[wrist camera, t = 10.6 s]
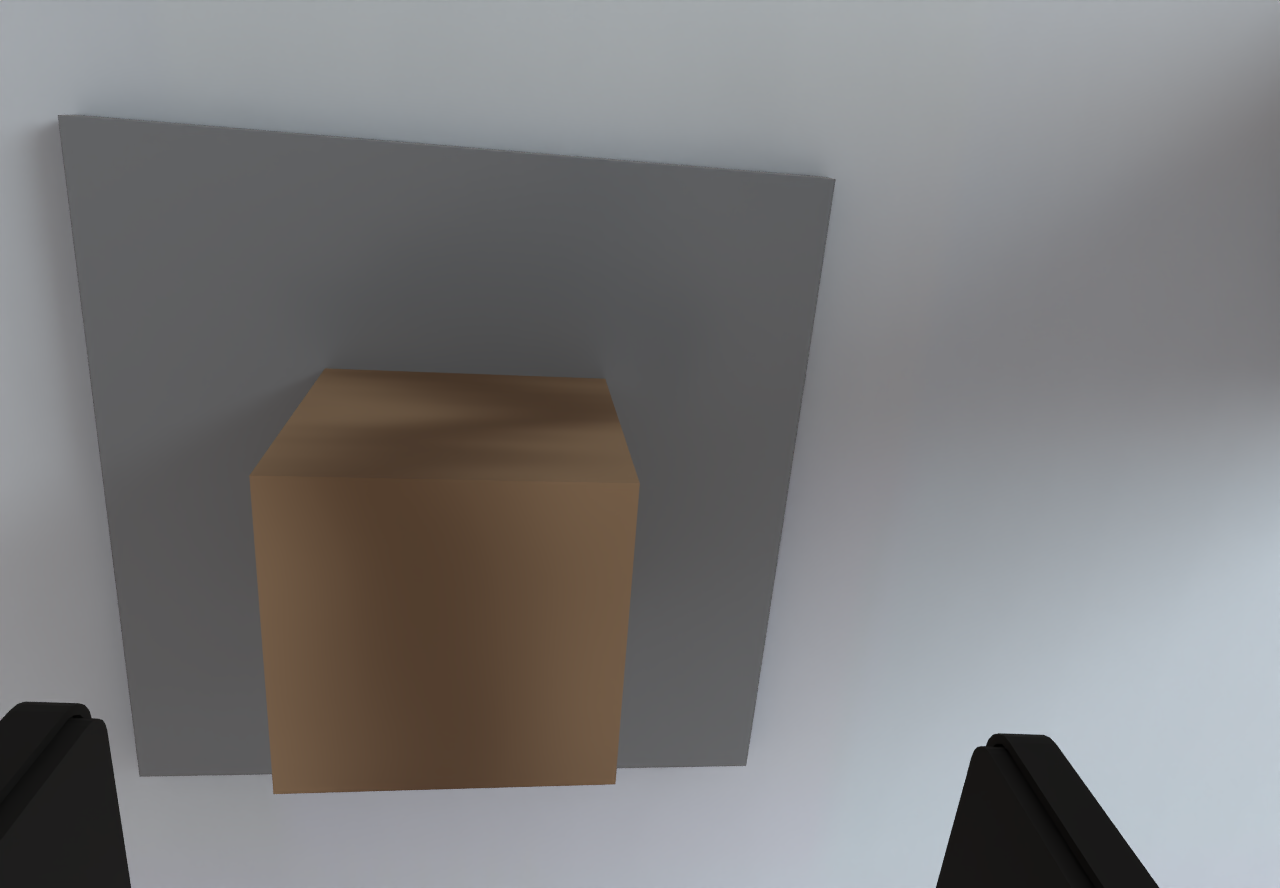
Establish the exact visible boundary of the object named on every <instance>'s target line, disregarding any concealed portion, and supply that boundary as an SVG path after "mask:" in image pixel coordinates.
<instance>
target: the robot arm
mask: <svg viewBox="0 0 1280 888" xmlns="http://www.w3.org/2000/svg"><path fill="white" fill-rule="evenodd" d="M0 888H131V884H130V877H129V871H128V864H127V858H126V851H125V844H124V838H123V831H122V825H121V818H120V812H119V805H118V798H117V792H116V785H115V779H114V772H113V765H112V759H111V752H110V746H109V739H108V733H107V728H106V725H105V723H104V722H103V720H101V719H93V718H91V715H90V711H89V710H88V708H87V707H86V706H85V705H83V704H79V703H50V702H22V703H19V704H17V705H16V706H15V707H13V708H12V709H11V710H10V711H9V712H8V713H7V714H6V715H5V716H4V717H3V718H2V720H1V721H0ZM936 888H1159V887H1158V885H1157V884H1156V883H1155V881H1154V880H1153V878H1152V877H1151V876H1150V874H1149V873H1148V871H1147V870H1146V869H1145V867H1144V866H1143V864H1142V863H1141V862H1140V860H1139V859H1138V857H1137V856H1136V855H1135V853H1134V852H1133V850H1132V849H1131V848H1130V846H1129V845H1128V844H1127V842H1126V841H1125V839H1124V838H1123V837H1122V835H1121V834H1120V832H1119V831H1118V830H1117V828H1116V827H1115V825H1114V824H1113V823H1112V821H1111V820H1110V818H1109V817H1108V816H1107V814H1106V813H1105V811H1104V810H1103V809H1102V807H1101V806H1100V805H1099V803H1098V802H1097V800H1096V799H1095V798H1094V796H1093V795H1092V793H1091V792H1090V791H1089V789H1088V788H1087V786H1086V785H1085V784H1084V782H1083V781H1082V779H1081V778H1080V777H1079V775H1078V774H1077V772H1076V771H1075V770H1074V768H1073V767H1072V765H1071V764H1070V763H1069V761H1068V760H1067V759H1066V757H1065V756H1064V754H1063V753H1062V752H1061V750H1060V749H1059V747H1058V746H1057V745H1056V743H1055V742H1054V741H1053V740H1052V739H1051V738H1050V737H1047V736H1045V735H1031V734H1000V733H998V734H994V735H992V736H991V738H990V739H989V740H988V742H987V745H986V746H980V747H977V748H976V749H975V750H974V752H973V755H972V757H971V761H970V765H969V768H968V772H967V776H966V779H965V783H964V787H963V790H962V794H961V798H960V801H959V805H958V809H957V812H956V816H955V820H954V823H953V827H952V831H951V834H950V838H949V842H948V845H947V849H946V853H945V856H944V860H943V864H942V867H941V871H940V875H939V878H938V882H937V886H936Z"/></svg>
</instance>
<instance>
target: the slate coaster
mask: <svg viewBox="0 0 1280 888" xmlns="http://www.w3.org/2000/svg"><path fill="white" fill-rule="evenodd" d="M58 120H59V128H60V136H61V144H62V152H63V160H64V168H65V176H66V184H67V193H68V201H69V209H70V217H71V225H72V233H73V241H74V249H75V257H76V265H77V273H78V282H79V290H80V298H81V306H82V314H83V322H84V330H85V338H86V346H87V354H88V362H89V371H90V379H91V387H92V395H93V403H94V411H95V419H96V427H97V435H98V443H99V451H100V459H101V468H102V476H103V484H104V492H105V500H106V508H107V516H108V524H109V532H110V540H111V548H112V557H113V565H114V573H115V581H116V589H117V597H118V605H119V613H120V621H121V629H122V637H123V646H124V654H125V662H126V670H127V678H128V686H129V694H130V702H131V710H132V718H133V726H134V734H135V743H136V751H137V759H138V767H139V775H140V777H141V776H197V775H253V774H272V767H271V754H270V740H269V727H268V714H267V701H266V688H265V675H264V662H263V648H262V635H261V622H260V609H259V596H258V583H257V570H256V556H255V543H254V530H253V517H252V504H251V491H250V478H249V475H250V474H251V472H252V471H253V470H254V468H255V467H256V465H257V464H258V463H259V461H260V460H261V458H262V457H263V455H264V454H265V453H266V451H267V450H268V448H269V447H270V446H271V444H272V443H273V441H274V440H275V438H276V437H277V436H278V434H279V433H280V431H281V430H282V429H283V427H284V426H285V424H286V423H287V421H288V420H289V419H290V417H291V416H292V414H293V413H294V412H295V410H296V409H297V407H298V406H299V404H300V403H301V402H302V400H303V399H304V397H305V396H306V395H307V393H308V392H309V390H310V389H311V387H312V386H313V385H314V383H315V382H316V380H317V379H318V378H319V376H320V375H321V373H322V372H323V370H324V369H325V368H328V369H355V370H382V371H409V372H436V373H464V374H491V375H518V376H545V377H572V378H600V379H605V380H606V383H607V386H608V389H609V392H610V395H611V398H612V401H613V404H614V407H615V410H616V413H617V416H618V419H619V422H620V425H621V428H622V431H623V434H624V437H625V440H626V443H627V446H628V449H629V452H630V455H631V458H632V461H633V464H634V467H635V470H636V473H637V476H638V479H639V482H640V487H639V499H638V511H637V524H636V536H635V548H634V561H633V573H632V585H631V597H630V610H629V622H628V634H627V646H626V659H625V671H624V683H623V696H622V708H621V720H620V732H619V745H618V757H617V768H647V767H703V766H746V763H747V756H748V750H749V743H750V736H751V730H752V723H753V717H754V710H755V704H756V697H757V691H758V684H759V677H760V671H761V664H762V658H763V651H764V645H765V638H766V632H767V625H768V618H769V612H770V605H771V599H772V592H773V586H774V579H775V572H776V566H777V559H778V553H779V546H780V540H781V533H782V527H783V520H784V513H785V507H786V500H787V494H788V487H789V481H790V474H791V468H792V461H793V454H794V448H795V441H796V435H797V428H798V422H799V415H800V408H801V402H802V395H803V389H804V382H805V376H806V369H807V363H808V356H809V349H810V343H811V336H812V330H813V323H814V317H815V310H816V304H817V297H818V290H819V284H820V277H821V271H822V264H823V258H824V251H825V244H826V238H827V231H828V225H829V218H830V212H831V205H832V199H833V192H834V185H835V179H832V178H828V177H821V176H809V175H797V174H785V173H772V172H760V171H748V170H736V169H724V168H712V167H700V166H688V165H676V164H664V163H652V162H640V161H628V160H616V159H604V158H591V157H579V156H567V155H555V154H543V153H531V152H519V151H507V150H495V149H483V148H471V147H459V146H447V145H435V144H423V143H410V142H398V141H386V140H374V139H362V138H350V137H338V136H326V135H314V134H302V133H290V132H278V131H266V130H254V129H241V128H229V127H217V126H205V125H193V124H181V123H169V122H157V121H145V120H133V119H121V118H109V117H97V116H85V115H58Z"/></svg>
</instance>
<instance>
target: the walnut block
mask: <svg viewBox="0 0 1280 888" xmlns="http://www.w3.org/2000/svg"><path fill="white" fill-rule="evenodd" d="M249 478H250V491H251V504H252V517H253V530H254V543H255V556H256V570H257V583H258V596H259V609H260V622H261V635H262V648H263V662H264V675H265V688H266V701H267V714H268V727H269V740H270V754H271V767H272V780H273V793H274V794H291V793H326V792H361V791H396V790H431V789H465V788H500V787H535V786H570V785H605V784H615V781H616V769H617V757H618V745H619V732H620V720H621V708H622V696H623V683H624V671H625V659H626V646H627V634H628V622H629V610H630V597H631V585H632V573H633V561H634V548H635V536H636V524H637V511H638V499H639V487H640V482H639V479H638V476H637V473H636V470H635V467H634V464H633V461H632V458H631V455H630V452H629V449H628V446H627V443H626V440H625V437H624V434H623V431H622V428H621V425H620V422H619V419H618V416H617V413H616V410H615V407H614V404H613V401H612V398H611V395H610V392H609V389H608V386H607V383H606V380H605V379H600V378H572V377H545V376H518V375H491V374H464V373H436V372H409V371H382V370H355V369H328V368H325V369H324V370H323V372H322V373H321V375H320V376H319V378H318V379H317V380H316V382H315V383H314V385H313V386H312V387H311V389H310V390H309V392H308V393H307V395H306V396H305V397H304V399H303V400H302V402H301V403H300V404H299V406H298V407H297V409H296V410H295V412H294V413H293V414H292V416H291V417H290V419H289V420H288V421H287V423H286V424H285V426H284V427H283V429H282V430H281V431H280V433H279V434H278V436H277V437H276V438H275V440H274V441H273V443H272V444H271V446H270V447H269V448H268V450H267V451H266V453H265V454H264V455H263V457H262V458H261V460H260V461H259V463H258V464H257V465H256V467H255V468H254V470H253V471H252V472H251V474H250V475H249Z"/></svg>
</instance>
